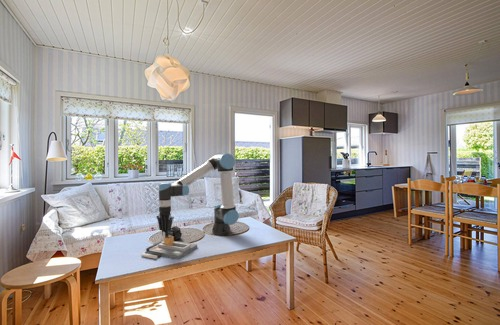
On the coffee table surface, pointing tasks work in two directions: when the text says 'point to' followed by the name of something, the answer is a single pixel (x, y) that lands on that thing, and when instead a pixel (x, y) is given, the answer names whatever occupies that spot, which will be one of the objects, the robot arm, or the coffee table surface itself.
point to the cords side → (152, 246)
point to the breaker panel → (174, 249)
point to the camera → (175, 232)
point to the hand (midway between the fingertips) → (165, 240)
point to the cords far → (150, 255)
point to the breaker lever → (169, 240)
